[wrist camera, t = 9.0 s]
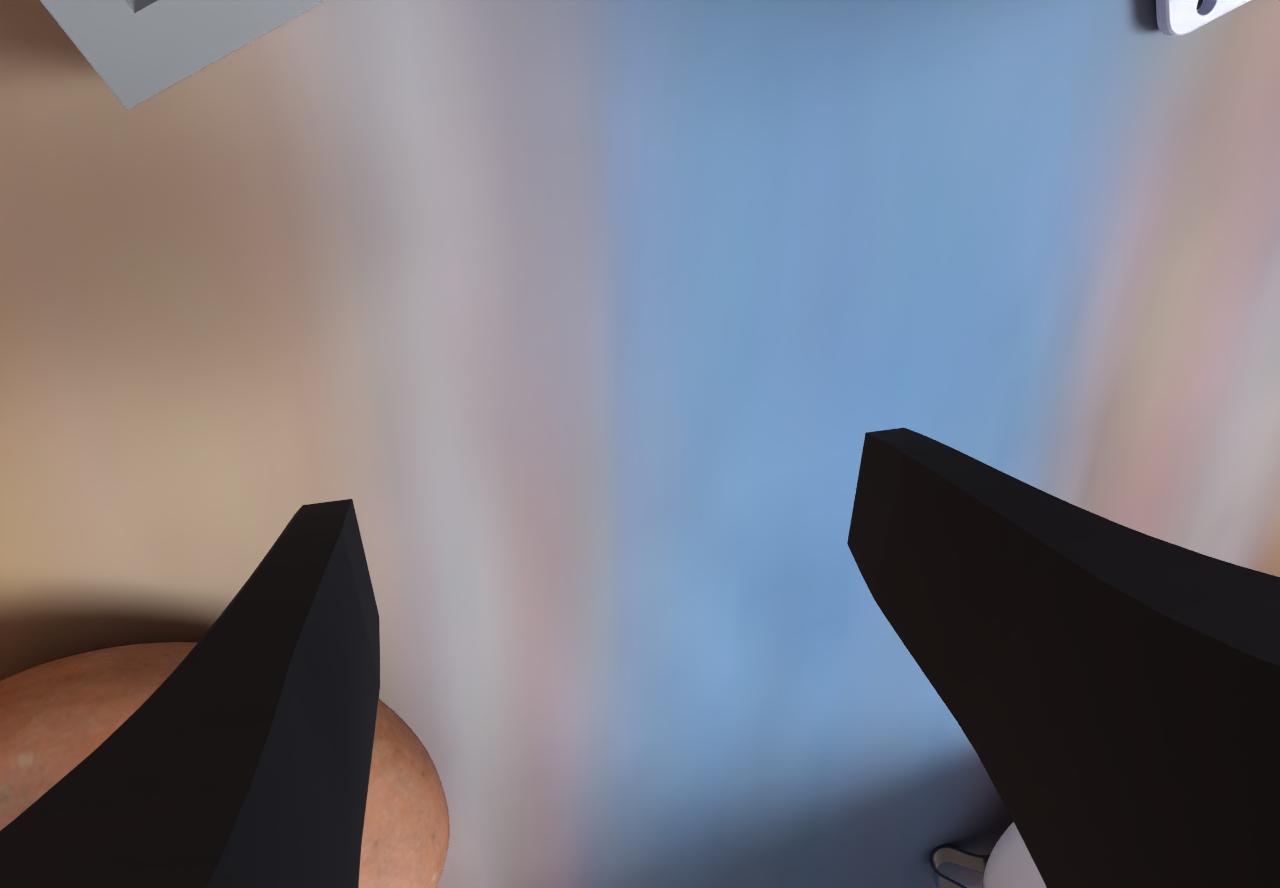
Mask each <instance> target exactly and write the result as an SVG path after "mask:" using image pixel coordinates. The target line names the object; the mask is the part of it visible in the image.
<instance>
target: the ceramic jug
mask: <svg viewBox="0 0 1280 888" xmlns="http://www.w3.org/2000/svg"><path fill="white" fill-rule="evenodd" d="M197 643H198V642H162V643H145V644H134V645H126V646H118V647H111V648H106V649H100V650H95V651H90V652H86V653H81V654H77V655H72V656H69V657H65V658H61V659H57V660H54V661H51V662H47V663H44V664H41V665H38V666H35V667H32V668H30V669H27V670H25V671H22V672H20V673H17V674H15V675H12V676H10V677H8V678H5V679H3V680H1V681H0V831H1V830H2V829H3V828H4V827H6V826H7V825H8V824H9V823H11V822H12V821H13V820H14V819H16V818H17V817H18V816H19V815H20V814H21V813H22V812H24V811H25V810H26V809H27V808H28V807H29V806H31V805H32V804H33V803H34V802H35V801H36V800H38V799H39V798H40V797H41V796H42V795H43V794H45V793H46V792H47V791H48V790H49V789H50V788H52V787H53V786H54V785H55V784H56V783H57V782H59V781H60V780H61V779H62V778H63V777H64V776H66V775H67V774H68V773H69V772H70V771H71V770H73V769H74V768H75V767H76V766H77V765H78V764H79V763H81V762H82V761H83V760H84V759H85V758H86V757H88V756H89V755H90V754H91V753H92V752H93V751H94V750H95V749H97V748H98V747H99V746H100V745H101V744H102V743H103V742H104V741H105V740H106V739H107V738H108V737H109V736H110V735H111V734H112V733H113V732H115V731H116V730H117V729H118V728H119V727H120V726H121V725H122V724H123V723H124V722H125V721H126V720H127V719H128V718H129V717H130V716H131V715H132V714H133V713H134V712H135V711H136V710H137V709H138V708H139V707H140V706H141V705H142V704H143V703H144V702H145V701H146V700H147V699H148V698H149V697H150V696H151V695H152V694H153V693H154V692H155V690H156V689H157V688H158V687H159V686H160V685H161V684H162V683H163V682H164V681H165V680H166V679H167V678H168V676H169V675H170V674H171V673H172V672H173V671H174V670H175V669H176V667H177V666H178V665H179V664H180V663H181V662H182V660H183V659H184V658H185V657H186V656H187V655H188V653H189V652H190V651H191V650H192V649H193V648H194V646H195V645H196V644H197ZM448 844H449V814H448V807H447V802H446V798H445V793H444V791H443V787H442V784H441V781H440V778H439V775H438V773H437V770H436V768H435V765H434V763H433V761H432V759H431V757H430V755H429V753H428V751H427V750H426V748H425V747H424V745H423V744H422V743H421V741H420V740H419V738H418V737H417V736H416V734H415V733H414V732H413V731H412V729H411V728H410V727H409V726H408V725H407V724H406V723H405V722H404V721H403V720H402V719H401V718H400V717H399V716H398V715H397V714H396V713H395V712H394V711H393V710H392V709H391V708H389V707H388V706H387V705H386V704H385V703H383V702H382V701H381V700H379V699H378V707H377V716H376V725H375V734H374V743H373V751H372V760H371V768H370V777H369V785H368V794H367V802H366V811H365V819H364V828H363V836H362V845H361V858H360V871H359V888H437V885H438V883H439V880H440V877H441V874H442V871H443V867H444V863H445V859H446V855H447V850H448Z"/></svg>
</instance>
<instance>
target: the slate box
mask: <svg viewBox="0 0 1280 888" xmlns="http://www.w3.org/2000/svg"><path fill="white" fill-rule="evenodd" d="M40 1H41V2H42V3H43V5H44V6H45V7H46V9H47V10H48V11H49V12H50V14H51V15H52V16H53V17H54V19H55V20H56V21H57V22H58V24H59V25H60V26H61V28H62V29H63V30H64V31H65V33H66V34H67V35H68V36H69V38H70V39H71V40H72V41H73V43H74V44H75V45H76V47H77V48H78V49H79V50H80V52H81V53H82V54H83V55H84V57H85V58H86V59H87V60H88V62H89V63H90V64H91V66H92V67H93V68H94V69H95V71H96V72H97V73H98V74H99V76H100V77H101V78H102V79H103V81H104V82H105V83H106V85H107V86H108V87H109V88H110V90H111V91H112V92H113V93H114V95H115V96H116V97H117V98H118V100H119V101H120V102H121V104H122V105H123V106H124V107H125V109H126V110H129V109H131V108H133V107H134V106H136V105H138V104H140V103H142V102H143V101H145V100H147V99H149V98H151V97H152V96H154V95H156V94H158V93H160V92H161V91H163V90H165V89H167V88H169V87H170V86H172V85H174V84H176V83H178V82H179V81H181V80H183V79H185V78H187V77H189V76H190V75H192V74H194V73H196V72H198V71H199V70H201V69H203V68H205V67H207V66H208V65H210V64H212V63H214V62H216V61H217V60H219V59H221V58H223V57H225V56H226V55H228V54H230V53H232V52H234V51H235V50H237V49H239V48H241V47H243V46H244V45H246V44H248V43H250V42H252V41H253V40H255V39H257V38H259V37H261V36H262V35H264V34H266V33H268V32H270V31H271V30H273V29H275V28H277V27H279V26H280V25H282V24H284V23H286V22H288V21H289V20H291V19H293V18H295V17H297V16H298V15H300V14H302V13H304V12H306V11H307V10H309V9H311V8H313V7H315V6H317V5H318V4H320V3H322V2H324V1H326V0H40Z"/></svg>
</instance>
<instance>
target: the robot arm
mask: <svg viewBox="0 0 1280 888" xmlns="http://www.w3.org/2000/svg"><path fill="white" fill-rule="evenodd" d="M1249 1H1251V0H1203V3H1202V5H1201V6H1200V8H1199V9H1198V10H1197V9H1196V8H1197V3H1198V0H1156V12H1157V24H1158V28H1159V30H1160V31H1161V32H1162V33H1163V34H1166V35H1172V36H1182V35H1186V34H1188V33H1190V32H1192V31H1194V30H1195V29H1197V28H1199V27H1201V26H1203V25H1205V24H1207V23H1209V22H1211V21H1213V20H1214V19H1216V18H1218V17H1220V16H1222V15H1224V14H1226V13H1228V12H1230V11H1232V10H1233V9H1235V8H1237V7H1239V6H1241V5H1243V4H1245V3H1247V2H1249ZM847 544H848V546H849V548H850V550H851V553H852V555H853V557H854V559H855V561H856V563H857V565H858V568H859V570H860V572H861V574H862V576H863V578H864V580H865V582H866V584H867V586H868V588H869V590H870V592H871V594H872V596H873V598H874V600H875V601H876V603H877V604H878V606H879V607H880V609H881V610H882V612H883V614H884V615H885V617H886V618H887V620H888V621H889V623H890V624H891V625H892V627H893V628H894V630H895V631H896V633H897V634H898V636H899V637H900V639H901V640H902V642H903V643H904V645H905V646H906V648H907V649H908V651H909V652H910V654H911V655H912V656H913V658H914V659H915V661H916V662H917V664H918V665H919V667H920V668H921V670H922V671H923V672H924V674H925V675H926V677H927V678H928V680H929V681H930V683H931V684H932V686H933V687H934V688H935V690H936V691H937V693H938V694H939V696H940V697H941V699H942V700H943V702H944V703H945V704H946V706H947V707H948V709H949V710H950V712H951V713H952V715H953V716H954V718H955V719H956V721H957V722H958V724H959V725H960V727H961V728H962V730H963V732H964V733H965V735H966V736H967V738H968V740H969V741H970V743H971V744H972V746H973V748H974V749H975V751H976V753H977V754H978V756H979V758H980V760H981V762H982V764H983V765H984V767H985V769H986V771H987V773H988V775H989V777H990V778H991V780H992V782H993V784H994V786H995V788H996V789H997V791H998V793H999V795H1000V797H1001V799H1002V800H1003V802H1004V804H1005V806H1006V808H1007V810H1008V812H1009V813H1010V815H1011V817H1012V819H1013V821H1014V823H1015V825H1016V827H1017V829H1018V831H1019V833H1020V835H1021V837H1022V839H1023V841H1024V843H1025V845H1026V847H1027V849H1028V851H1029V853H1030V855H1031V857H1032V859H1033V861H1034V863H1035V865H1036V867H1037V869H1038V871H1039V873H1040V875H1041V877H1042V879H1043V881H1044V883H1045V885H1046V887H1047V888H1280V577H1276V576H1273V575H1269V574H1266V573H1262V572H1259V571H1255V570H1252V569H1248V568H1244V567H1241V566H1237V565H1234V564H1231V563H1228V562H1225V561H1221V560H1218V559H1215V558H1212V557H1209V556H1206V555H1203V554H1200V553H1197V552H1194V551H1191V550H1188V549H1185V548H1183V547H1180V546H1177V545H1174V544H1171V543H1168V542H1165V541H1163V540H1160V539H1157V538H1154V537H1151V536H1148V535H1146V534H1143V533H1140V532H1138V531H1135V530H1133V529H1130V528H1127V527H1125V526H1122V525H1120V524H1117V523H1115V522H1113V521H1110V520H1108V519H1105V518H1103V517H1101V516H1098V515H1096V514H1094V513H1091V512H1089V511H1086V510H1084V509H1082V508H1079V507H1077V506H1075V505H1072V504H1070V503H1068V502H1066V501H1063V500H1061V499H1059V498H1057V497H1054V496H1052V495H1050V494H1048V493H1046V492H1043V491H1041V490H1039V489H1037V488H1035V487H1033V486H1031V485H1028V484H1026V483H1024V482H1022V481H1020V480H1018V479H1016V478H1014V477H1011V476H1009V475H1007V474H1005V473H1003V472H1001V471H999V470H997V469H995V468H993V467H991V466H989V465H986V464H984V463H982V462H980V461H978V460H976V459H974V458H972V457H970V456H968V455H966V454H964V453H962V452H959V451H957V450H955V449H953V448H951V447H949V446H947V445H944V444H942V443H940V442H938V441H936V440H933V439H931V438H929V437H927V436H924V435H922V434H919V433H917V432H914V431H911V430H909V429H906V428H899V429H891V430H883V431H875V432H868V433H866V434H865V440H864V446H863V452H862V458H861V464H860V470H859V476H858V482H857V488H856V495H855V501H854V507H853V513H852V519H851V525H850V531H849V537H848V543H847ZM379 689H380V641H379V614H378V610H377V606H376V601H375V597H374V592H373V588H372V584H371V579H370V575H369V571H368V566H367V562H366V557H365V553H364V549H363V544H362V540H361V536H360V531H359V527H358V522H357V518H356V514H355V509H354V505H353V501H352V499H348V500H340V501H332V502H325V503H317V504H309V505H303V506H302V507H301V508H300V509H299V510H298V511H297V513H296V514H295V515H294V516H293V518H292V519H291V521H290V522H289V523H288V525H287V526H286V528H285V529H284V531H283V532H282V533H281V535H280V536H279V538H278V539H277V541H276V542H275V543H274V545H273V546H272V548H271V549H270V550H269V552H268V553H267V555H266V556H265V557H264V559H263V560H262V562H261V563H260V564H259V566H258V567H257V568H256V570H255V571H254V573H253V574H252V575H251V577H250V578H249V579H248V581H247V582H246V583H245V584H244V586H243V587H242V588H241V590H240V591H239V592H238V594H237V595H236V596H235V597H234V599H233V600H232V601H231V603H230V604H229V605H228V606H227V608H226V609H225V610H224V612H223V613H222V614H221V616H220V617H219V618H218V619H217V621H216V622H215V623H214V624H213V625H212V627H211V628H210V629H209V630H208V631H207V633H206V634H205V635H204V636H203V637H202V638H201V640H200V641H199V642H198V643H197V644H196V645H195V646H194V648H193V649H192V650H191V651H190V652H189V653H188V655H187V656H186V657H185V658H184V659H183V660H182V662H181V663H180V664H179V665H178V666H177V667H176V669H175V670H174V671H173V672H172V673H171V674H170V675H169V676H168V678H167V679H166V680H165V681H164V682H163V683H162V684H161V685H160V686H159V687H158V688H157V689H156V690H155V692H154V693H153V694H152V695H151V696H150V697H149V698H148V699H147V700H146V701H145V702H144V703H143V704H142V705H141V706H140V707H139V708H138V709H137V710H136V711H135V712H134V713H133V714H132V715H131V716H130V717H129V718H128V719H127V720H126V721H125V722H124V723H123V724H122V725H121V726H120V727H119V728H118V729H117V730H116V731H115V732H113V733H112V734H111V735H110V736H109V737H108V738H107V739H106V740H105V741H104V742H103V743H102V744H101V745H100V746H99V747H98V748H97V749H95V750H94V751H93V752H92V753H91V754H90V755H89V756H88V757H86V758H85V759H84V760H83V761H82V762H81V763H79V764H78V765H77V766H76V767H75V768H74V769H73V770H71V771H70V772H69V773H68V774H67V775H66V776H64V777H63V778H62V779H61V780H60V781H59V782H57V783H56V784H55V785H54V786H53V787H52V788H50V789H49V790H48V791H47V792H46V793H45V794H43V795H42V796H41V797H40V798H39V799H38V800H36V801H35V802H34V803H33V804H32V805H31V806H29V807H28V808H27V809H26V810H25V811H24V812H22V813H21V814H20V815H19V816H18V817H17V818H16V819H14V820H13V821H12V822H11V823H9V824H8V825H7V826H6V827H4V828H3V829H2V830H1V831H0V888H359V871H360V858H361V845H362V836H363V828H364V819H365V811H366V802H367V794H368V785H369V777H370V768H371V760H372V751H373V743H374V734H375V725H376V716H377V707H378V698H379Z"/></svg>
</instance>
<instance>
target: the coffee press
mask: <svg viewBox="0 0 1280 888" xmlns="http://www.w3.org/2000/svg"><path fill="white" fill-rule="evenodd" d="M944 862H952V863H955V864H958V865H960V866H963V867H965V868H968V869H971V870H974V871H978V872H984V879H983V888H1047V887H1046V885H1045V883H1044V881H1043V879H1042V877H1041V875H1040V873H1039V871H1038V869H1037V867H1036V865H1035V863H1034V861H1033V859H1032V857H1031V855H1030V853H1029V851H1028V849H1027V847H1026V845H1025V843H1024V841H1023V839H1022V837H1021V835H1020V833H1019V831H1018V829H1017V827H1016V825H1015V823H1014V822H1013V823H1012V824H1011V825H1010V826H1009V827H1008V828H1007V830H1006V831H1005V832H1004V833H1003V835H1002V836H1001V837H1000V839H999V840H998V842H997V843H996V845H995V847H994V848H993V850H992V852H991V854H990V855H977V854H973V853H969V852H966V851H964V850H961V849H959V848H956V847H953V846H949V845H942V846H939V847H937V848H935V849H934V850H933V852H932V853H931V856H930V863H931V869H932V876H933V880H934V882H935V883H936V885H937V886H938V887H939V888H966V887H965V886H963V885H961V884H960V883H958V882H956V881H954V880H952V879H950V878H948V877H946V876H945V875H943V874H941V873H940V872H939V871H938V870H937V869H936V868H937V867H938V866H939V865H940V864H941V863H944Z"/></svg>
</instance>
